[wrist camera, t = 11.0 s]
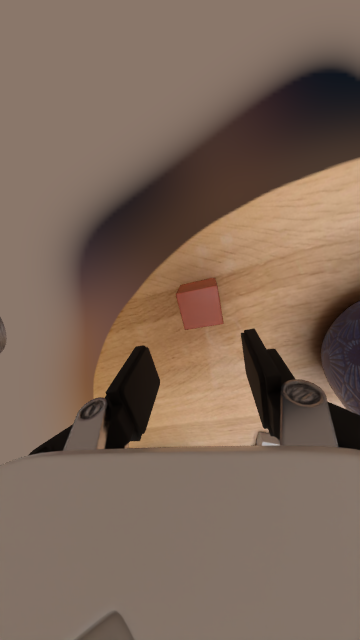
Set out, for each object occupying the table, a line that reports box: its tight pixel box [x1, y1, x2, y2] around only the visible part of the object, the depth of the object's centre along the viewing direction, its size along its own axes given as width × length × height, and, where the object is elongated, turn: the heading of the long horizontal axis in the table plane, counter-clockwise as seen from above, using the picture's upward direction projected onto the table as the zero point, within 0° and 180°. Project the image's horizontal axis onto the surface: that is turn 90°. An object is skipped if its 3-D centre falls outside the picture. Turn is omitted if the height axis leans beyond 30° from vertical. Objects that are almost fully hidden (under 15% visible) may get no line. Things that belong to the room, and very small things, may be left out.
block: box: [176, 278, 223, 330], centre depth 21 cm, size 4×4×4 cm
